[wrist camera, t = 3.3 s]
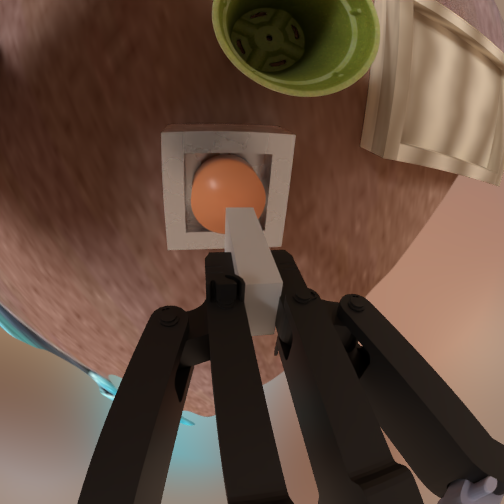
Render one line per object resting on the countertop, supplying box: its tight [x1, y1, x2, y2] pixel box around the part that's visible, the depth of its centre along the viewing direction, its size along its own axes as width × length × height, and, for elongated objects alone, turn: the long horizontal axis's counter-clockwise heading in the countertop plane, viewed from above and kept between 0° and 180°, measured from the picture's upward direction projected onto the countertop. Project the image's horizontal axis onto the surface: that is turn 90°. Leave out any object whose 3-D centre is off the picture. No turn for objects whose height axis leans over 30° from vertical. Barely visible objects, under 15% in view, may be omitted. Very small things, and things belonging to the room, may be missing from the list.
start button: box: [191, 154, 266, 234], centre depth 20 cm, size 5×5×3 cm
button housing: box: [161, 123, 296, 250], centre depth 21 cm, size 9×9×4 cm
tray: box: [360, 0, 504, 186], centre depth 19 cm, size 21×17×4 cm
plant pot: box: [212, 0, 380, 97], centre depth 14 cm, size 9×9×9 cm
